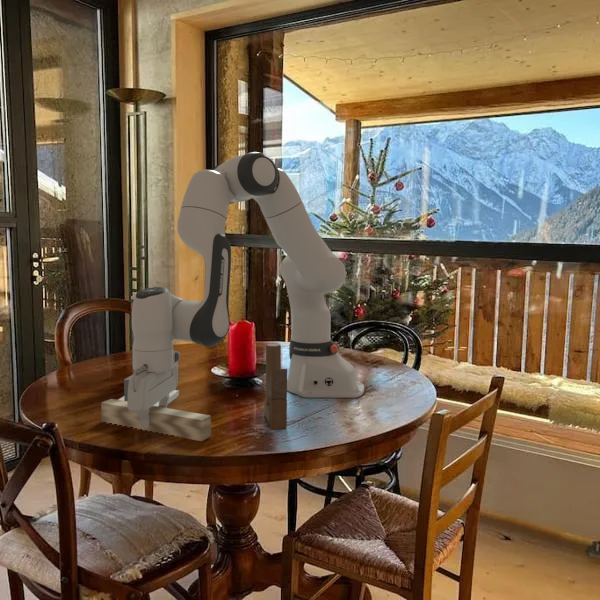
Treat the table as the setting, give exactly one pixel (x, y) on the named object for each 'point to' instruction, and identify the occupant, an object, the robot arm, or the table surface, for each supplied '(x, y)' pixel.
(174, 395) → the ridge stand
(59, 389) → the table surface
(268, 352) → the wooden block
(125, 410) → the beige zigzag bar
